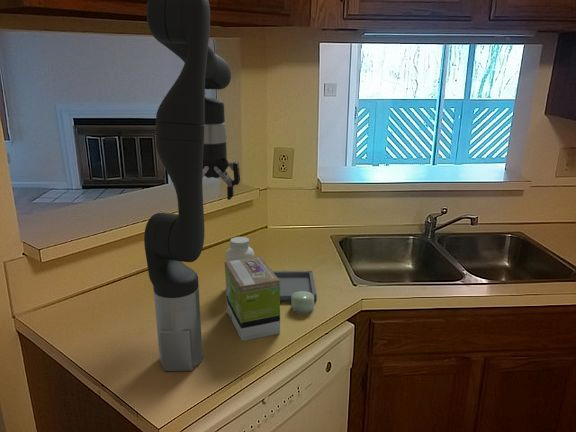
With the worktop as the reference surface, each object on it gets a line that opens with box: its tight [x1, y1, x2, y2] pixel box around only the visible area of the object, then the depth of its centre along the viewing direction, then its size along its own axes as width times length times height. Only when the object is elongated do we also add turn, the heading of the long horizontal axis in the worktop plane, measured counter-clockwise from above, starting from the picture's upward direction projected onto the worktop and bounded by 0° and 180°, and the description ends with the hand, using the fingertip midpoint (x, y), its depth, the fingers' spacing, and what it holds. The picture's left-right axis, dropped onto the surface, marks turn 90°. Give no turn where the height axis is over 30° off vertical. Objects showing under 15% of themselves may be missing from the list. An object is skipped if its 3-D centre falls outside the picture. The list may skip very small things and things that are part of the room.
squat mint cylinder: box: [290, 291, 315, 315], centre depth 129 cm, size 6×6×4 cm
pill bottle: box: [225, 236, 255, 262], centre depth 138 cm, size 8×8×15 cm
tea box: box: [224, 255, 281, 342], centre depth 120 cm, size 15×10×15 cm, turn 21°
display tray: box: [272, 270, 318, 303], centre depth 140 cm, size 16×16×2 cm
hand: (214, 198), depth 134 cm, fingers open, 8 cm apart
